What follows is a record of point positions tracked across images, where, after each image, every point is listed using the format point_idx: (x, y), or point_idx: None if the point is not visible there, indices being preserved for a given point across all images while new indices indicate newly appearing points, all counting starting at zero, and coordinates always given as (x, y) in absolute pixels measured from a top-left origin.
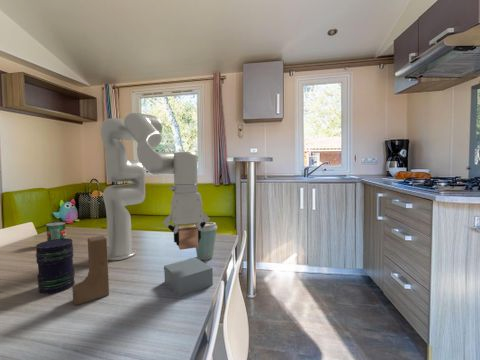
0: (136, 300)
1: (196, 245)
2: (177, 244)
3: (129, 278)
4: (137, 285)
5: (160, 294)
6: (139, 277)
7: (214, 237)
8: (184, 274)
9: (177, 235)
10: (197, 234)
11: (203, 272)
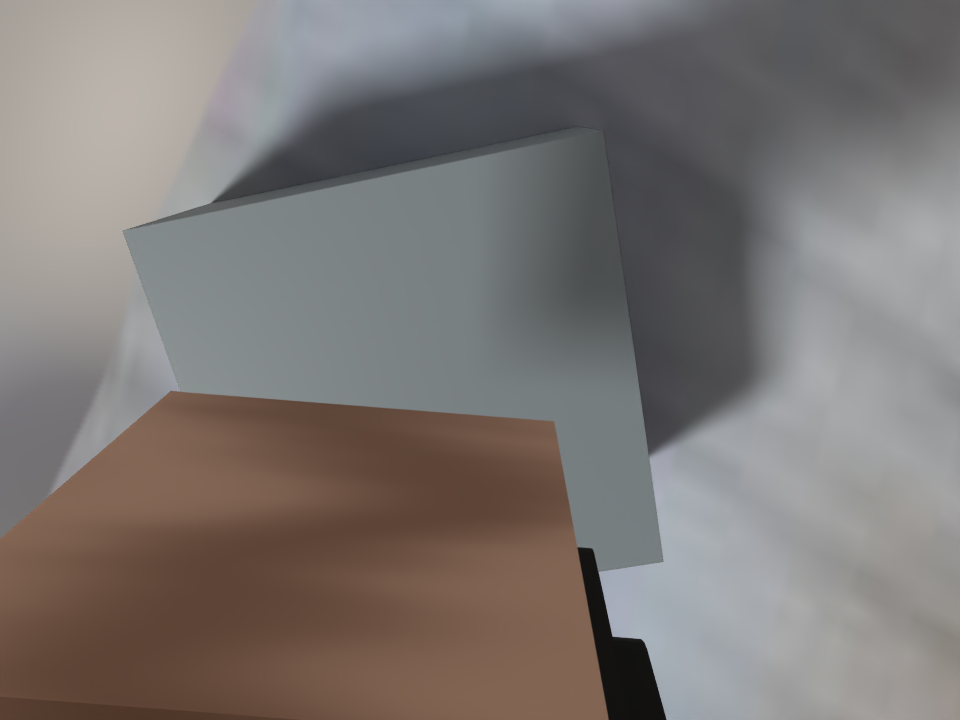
0: (940, 237)
1: (193, 413)
2: (586, 550)
3: (889, 660)
4: (862, 507)
5: (722, 247)
6: (809, 643)
7: None
8: (503, 207)
9: (609, 714)
10: (4, 553)
11: (259, 201)
